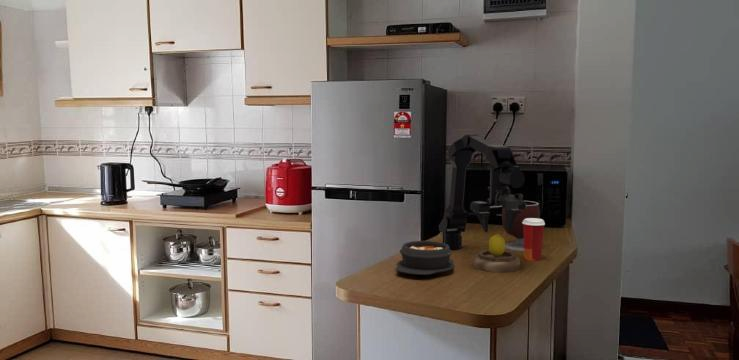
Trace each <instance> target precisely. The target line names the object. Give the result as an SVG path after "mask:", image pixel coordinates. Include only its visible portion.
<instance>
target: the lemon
mask: <svg viewBox="0 0 739 360" xmlns="http://www.w3.org/2000/svg"><path fill="white" fill-rule="evenodd" d="M505 243H506V240H505V239H504V237H503V236H501V235H500V234H498V233H496V234H494V235H492V236H491V237H490V238H489V241H488V250H489V251H490V253H491V254H492V255H494V256H495V257H496V258H498V257H499V256H500V255H502V254H503V253H504V251H506V248H505V247H506V245H505Z"/></svg>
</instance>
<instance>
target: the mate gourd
mask: <svg viewBox="0 0 739 360" xmlns="http://www.w3.org/2000/svg"><path fill="white" fill-rule="evenodd" d="M524 201H525V203H526V209H522V210H523V211H522V212H520V213H519V214H518V215H517V216H516V218H515V220H514V222H513V225H512V228H511V230H510V231H509V230H508V229H507V222H506V210H505V209H504V208H502V211H501V221H502V222H501V223H502V226H503V227H502V228H503V229H504V231H505V232H506V234H508V235H510V236H512V237H514V238H515V241H513V242H512V241H511V242H510V241H509V242H505V245H506V247H505V250H511V251H515V252H516V251H519V252H524V227H523V223H522V222H524V221H523V220H524V219H526V218H537V219H541V218H540V217H541V212H540V205H539V204H540V203H539V202H536V201H532V200H531V201H530V200H524Z"/></svg>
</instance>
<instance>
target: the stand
mask: <svg viewBox="0 0 739 360" xmlns="http://www.w3.org/2000/svg"><path fill="white" fill-rule="evenodd" d="M520 264H521V259H520V256H519V257H518V256H517V255H516V254H515V253H514V252H512V251H511V252H510V251H506V250H505V251H504V253H503V254H502V255H500V256H499V257H498V258H496V257H495V256H494V255H492V254H491V253H490V251H489V249H488V250H487V249H485V250H482V251H479V252H477V254H475V255H473V267H474V268H475V269H477V270H479V271H480V270H481V271H485V272H491V273H513V272H516V271H518V270H520V268H521V265H520Z"/></svg>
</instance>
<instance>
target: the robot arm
mask: <svg viewBox="0 0 739 360" xmlns="http://www.w3.org/2000/svg"><path fill="white" fill-rule="evenodd" d="M476 152H479V153H480V154H482V155H484V156H485V160H486V161H487V162H488V163H489V164H490V165H489V166H488V167H487V168H486V169H487V171H489V172H490V173H489V175H490V177H489V185H490V186H487V191H489V198H487V201H481V200H477V201H471V203H470V205H469V211H473V213H475V214H476V216H477V218H478V219H479V222H480V224H481V226H482V227H481V228H482V229H483V232H484V233H488V231H489V230H488V229H489V216H490V215H491V212H490V211H491V209H492V210H493V209H496V210H497V209H503V208H504V209H505V210H506V222H507V229H508V230H509V231H510V230H511V228H512V225H513V222H514V220H515V218H516V216H517V215H518V214H519V213H520V212H522V211H523V210H522V209H526V203H525V201H526V200H524V195H523V194H522V193H516V194H512V192H511V188H514V189H519V188H521V187H523V186H524V184H525V182H526V177H525V174H524V172H523V171H522V170H521V167H520V165H518V164H517V163H518V162H517V160H516V159H515V156H514V154H513V150H512V149H511V147H509V146H507V145H500V144H494V143H492V142H490V141H489V140H487V139H484V138H482V137H480V136H479V134H474V133H471V134H469V133H468V134H464V135H463V136H462V137H461V138H459V139H457V140H456V141H454V142H453V143H452V144H451V145H450V146H449V147H448V152H447V153H448V160H449V161H448V162H450V165H451V167H452V171H451V181H450V192H449V193H450V194H449V204H448V206H447V207H446V208H445V210H444V213H443V217H442V219H441V221H440V223H439V224H438V230H439V232H440V233H442V242H441V243H445V244H447V245H449V247H450V250H451V251H454V250H455V251H456V250H459V249H462V248H464V246H463V235H462V233H465V231H466V229H467V223H468V211H466V210H465V208H464V199H465V198H464V197H465V196H464V195H465V184H466V173H467V167H469V165H470V163H472V162H471V161H472V157H473V155H474V154H475V153H476Z"/></svg>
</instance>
